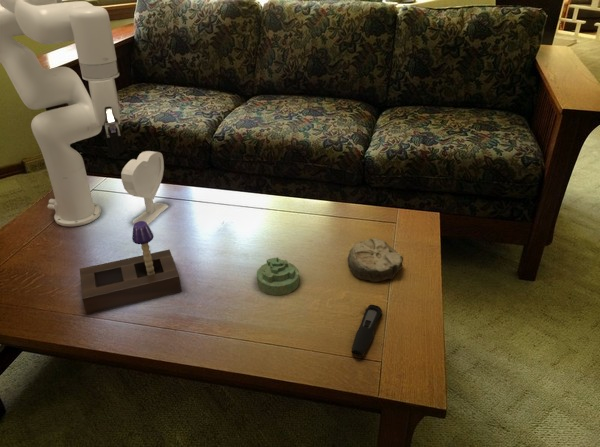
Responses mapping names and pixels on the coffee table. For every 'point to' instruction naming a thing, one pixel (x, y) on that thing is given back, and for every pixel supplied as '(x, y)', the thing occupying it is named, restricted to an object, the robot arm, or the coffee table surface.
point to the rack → (128, 282)
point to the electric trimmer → (366, 329)
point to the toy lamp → (144, 243)
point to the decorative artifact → (277, 277)
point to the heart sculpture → (145, 182)
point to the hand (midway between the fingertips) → (114, 144)
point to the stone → (374, 260)
